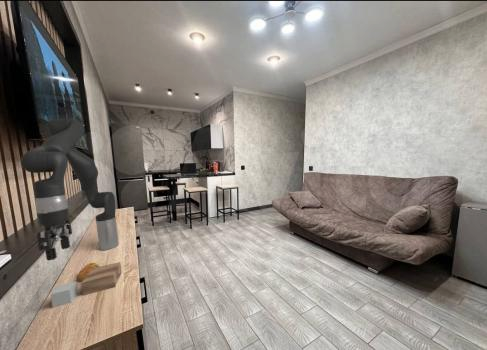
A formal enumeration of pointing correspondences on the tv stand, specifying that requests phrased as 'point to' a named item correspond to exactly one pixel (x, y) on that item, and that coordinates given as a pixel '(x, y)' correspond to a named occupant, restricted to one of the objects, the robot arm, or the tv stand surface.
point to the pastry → (86, 271)
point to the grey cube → (64, 294)
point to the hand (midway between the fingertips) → (59, 253)
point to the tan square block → (101, 278)
